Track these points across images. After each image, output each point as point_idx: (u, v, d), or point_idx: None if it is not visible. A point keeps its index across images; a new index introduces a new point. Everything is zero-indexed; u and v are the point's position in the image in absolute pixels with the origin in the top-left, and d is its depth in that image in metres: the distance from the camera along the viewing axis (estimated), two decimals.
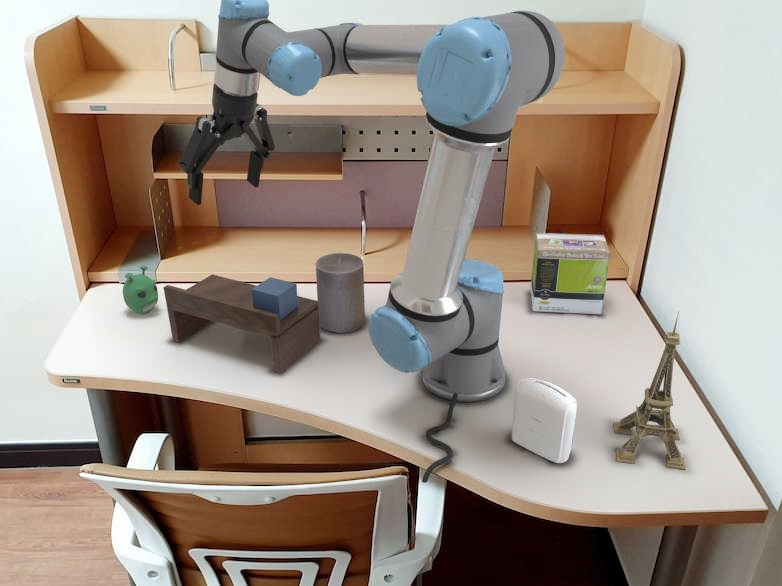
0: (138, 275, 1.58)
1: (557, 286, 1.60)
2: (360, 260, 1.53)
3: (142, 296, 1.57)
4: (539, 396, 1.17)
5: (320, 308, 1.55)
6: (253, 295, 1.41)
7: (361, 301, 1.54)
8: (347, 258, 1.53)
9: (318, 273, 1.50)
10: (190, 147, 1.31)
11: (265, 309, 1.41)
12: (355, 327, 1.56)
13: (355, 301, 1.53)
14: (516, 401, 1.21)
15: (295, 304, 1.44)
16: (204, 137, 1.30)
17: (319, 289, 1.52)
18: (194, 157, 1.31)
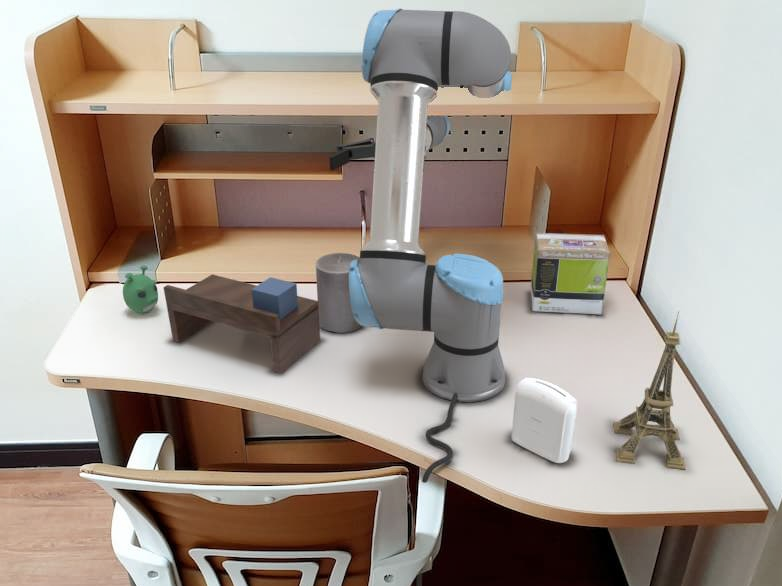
0: (138, 275, 1.58)
1: (557, 286, 1.60)
2: None
3: (142, 296, 1.57)
4: (539, 396, 1.17)
5: (320, 308, 1.55)
6: (253, 295, 1.41)
7: None
8: (347, 258, 1.53)
9: (318, 273, 1.50)
10: None
11: (265, 309, 1.41)
12: (355, 327, 1.56)
13: None
14: (516, 401, 1.21)
15: (295, 304, 1.44)
16: (364, 140, 1.63)
17: (319, 289, 1.52)
18: (349, 143, 1.61)
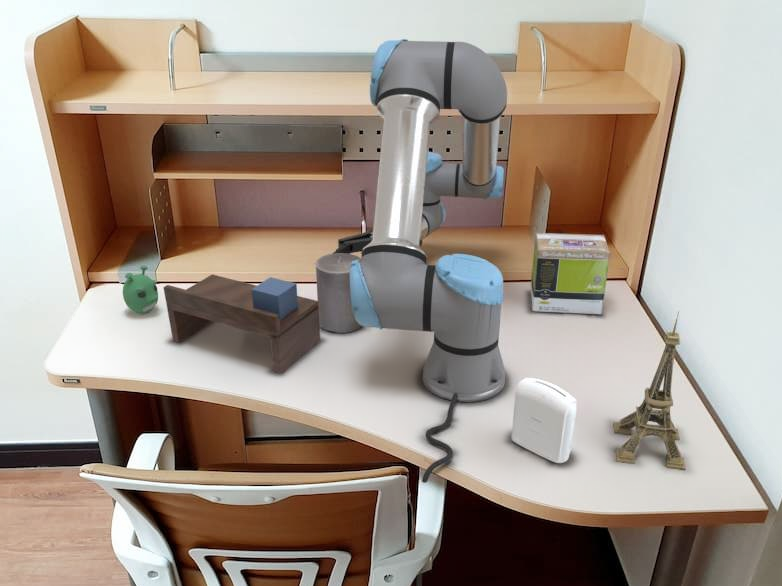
0: (138, 275, 1.58)
1: (557, 286, 1.60)
2: None
3: (142, 296, 1.57)
4: (539, 396, 1.17)
5: (320, 308, 1.55)
6: (253, 295, 1.41)
7: None
8: (347, 258, 1.53)
9: (318, 273, 1.50)
10: None
11: (265, 309, 1.41)
12: (355, 327, 1.56)
13: None
14: (516, 401, 1.21)
15: (295, 304, 1.44)
16: (364, 233, 1.73)
17: (319, 289, 1.52)
18: (350, 236, 1.71)
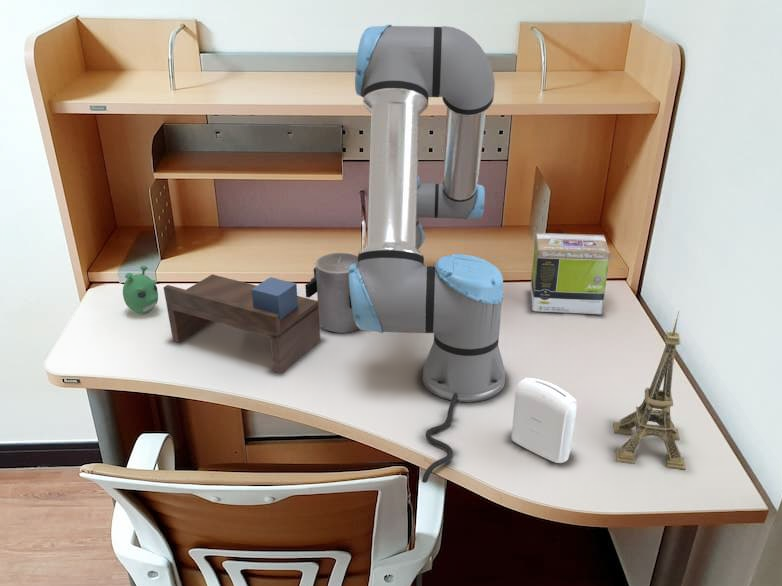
0: (138, 275, 1.58)
1: (557, 286, 1.60)
2: None
3: (142, 296, 1.57)
4: (539, 396, 1.17)
5: (320, 308, 1.55)
6: (253, 295, 1.41)
7: None
8: (347, 258, 1.53)
9: (318, 273, 1.51)
10: None
11: (265, 309, 1.41)
12: (355, 327, 1.56)
13: None
14: (516, 401, 1.21)
15: (295, 304, 1.44)
16: None
17: (319, 289, 1.52)
18: None
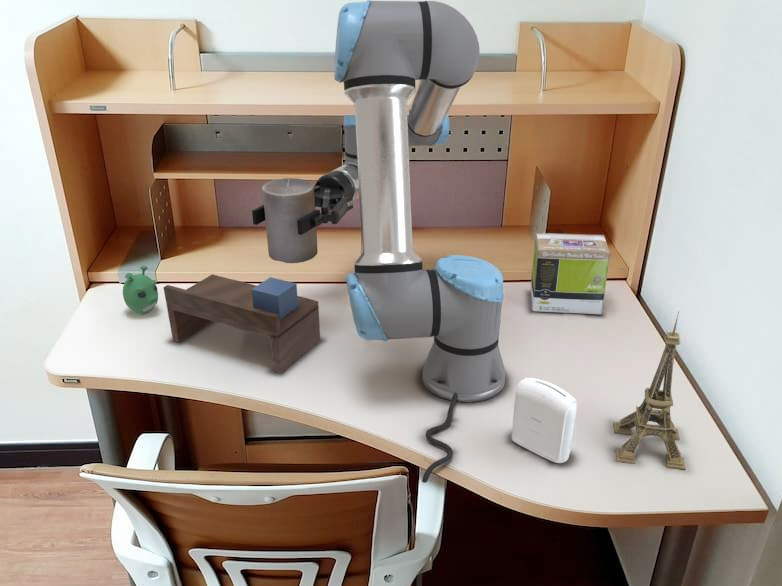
0: (138, 275, 1.58)
1: (557, 286, 1.60)
2: (311, 184, 1.43)
3: (142, 296, 1.57)
4: (539, 396, 1.17)
5: (268, 236, 1.45)
6: (253, 295, 1.41)
7: (312, 228, 1.45)
8: (297, 182, 1.44)
9: (265, 197, 1.41)
10: None
11: (265, 309, 1.41)
12: (306, 257, 1.46)
13: None
14: (516, 401, 1.21)
15: (295, 304, 1.44)
16: None
17: (266, 215, 1.43)
18: None
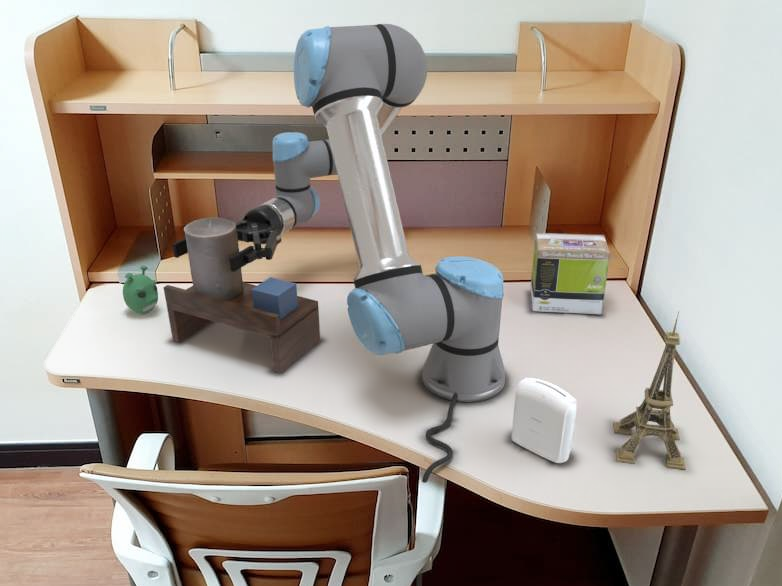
0: (138, 275, 1.58)
1: (557, 286, 1.60)
2: (233, 224, 1.44)
3: (142, 296, 1.57)
4: (539, 396, 1.17)
5: (192, 275, 1.46)
6: (253, 295, 1.41)
7: None
8: (220, 222, 1.45)
9: (186, 237, 1.42)
10: None
11: (265, 309, 1.41)
12: (230, 296, 1.47)
13: (228, 268, 1.44)
14: (516, 401, 1.21)
15: (295, 304, 1.44)
16: None
17: (189, 255, 1.44)
18: None
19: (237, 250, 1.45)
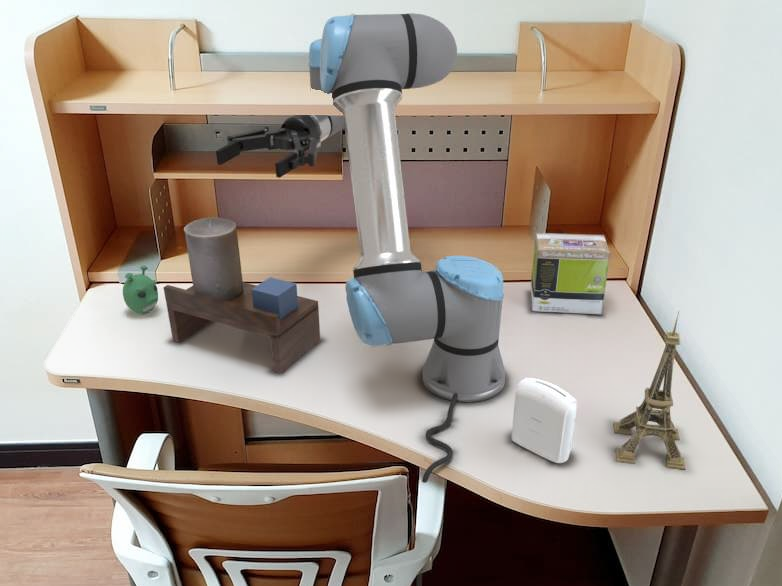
0: (138, 275, 1.58)
1: (557, 286, 1.60)
2: (233, 224, 1.44)
3: (142, 296, 1.57)
4: (539, 396, 1.17)
5: (192, 275, 1.46)
6: (253, 295, 1.41)
7: (235, 267, 1.46)
8: (220, 222, 1.45)
9: (186, 237, 1.42)
10: None
11: (265, 309, 1.41)
12: (230, 296, 1.47)
13: (228, 268, 1.44)
14: (516, 401, 1.21)
15: (295, 304, 1.44)
16: (257, 130, 1.57)
17: (189, 255, 1.44)
18: (240, 133, 1.55)
19: (237, 250, 1.45)
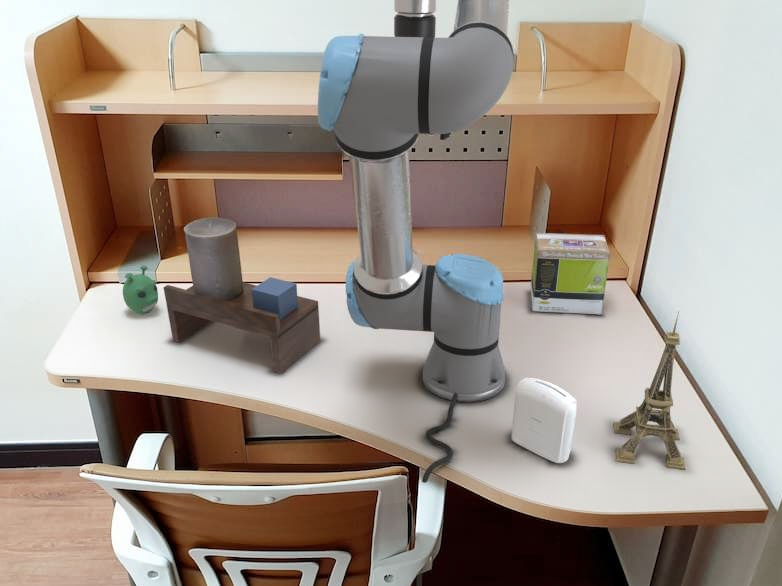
0: (138, 275, 1.58)
1: (557, 286, 1.60)
2: (233, 224, 1.44)
3: (142, 296, 1.57)
4: (539, 396, 1.17)
5: (192, 275, 1.46)
6: (253, 295, 1.41)
7: (235, 267, 1.46)
8: (220, 222, 1.45)
9: (186, 237, 1.42)
10: None
11: (265, 309, 1.41)
12: (230, 296, 1.47)
13: (228, 268, 1.44)
14: (516, 401, 1.21)
15: (295, 304, 1.44)
16: None
17: (189, 255, 1.44)
18: None
19: (237, 250, 1.45)
